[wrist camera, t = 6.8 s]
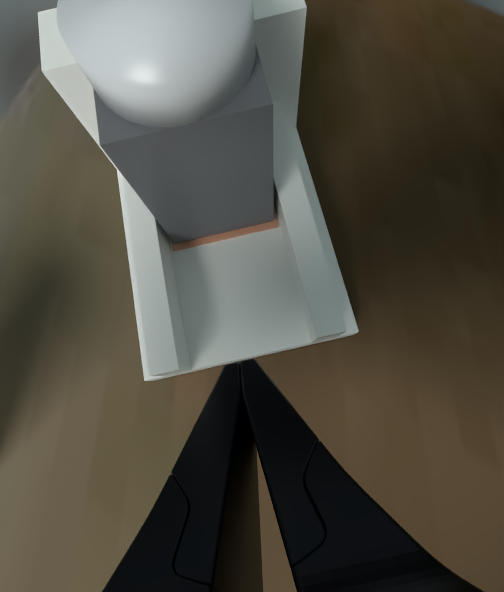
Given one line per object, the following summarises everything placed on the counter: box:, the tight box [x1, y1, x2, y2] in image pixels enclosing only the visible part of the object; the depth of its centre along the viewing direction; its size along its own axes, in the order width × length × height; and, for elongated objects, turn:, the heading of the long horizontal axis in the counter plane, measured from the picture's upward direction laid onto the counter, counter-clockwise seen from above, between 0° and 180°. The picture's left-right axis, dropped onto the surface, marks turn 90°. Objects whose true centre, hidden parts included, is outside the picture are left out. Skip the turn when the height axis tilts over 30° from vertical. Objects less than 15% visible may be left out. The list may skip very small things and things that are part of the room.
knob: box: [57, 0, 274, 244], centre depth 12 cm, size 5×5×9 cm
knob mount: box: [38, 0, 359, 381], centre depth 13 cm, size 14×10×9 cm
